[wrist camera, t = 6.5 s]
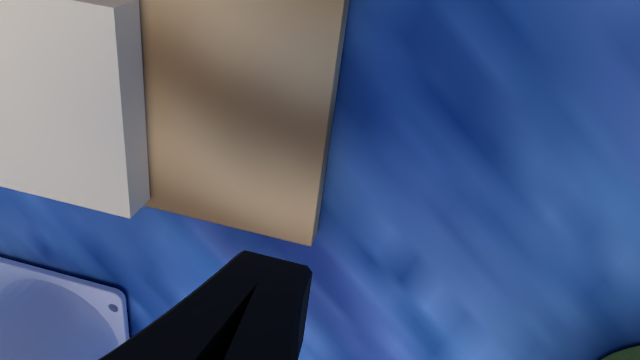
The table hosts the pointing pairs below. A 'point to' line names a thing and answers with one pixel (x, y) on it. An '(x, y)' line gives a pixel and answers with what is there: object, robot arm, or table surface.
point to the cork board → (241, 109)
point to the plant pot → (625, 354)
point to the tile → (74, 103)
